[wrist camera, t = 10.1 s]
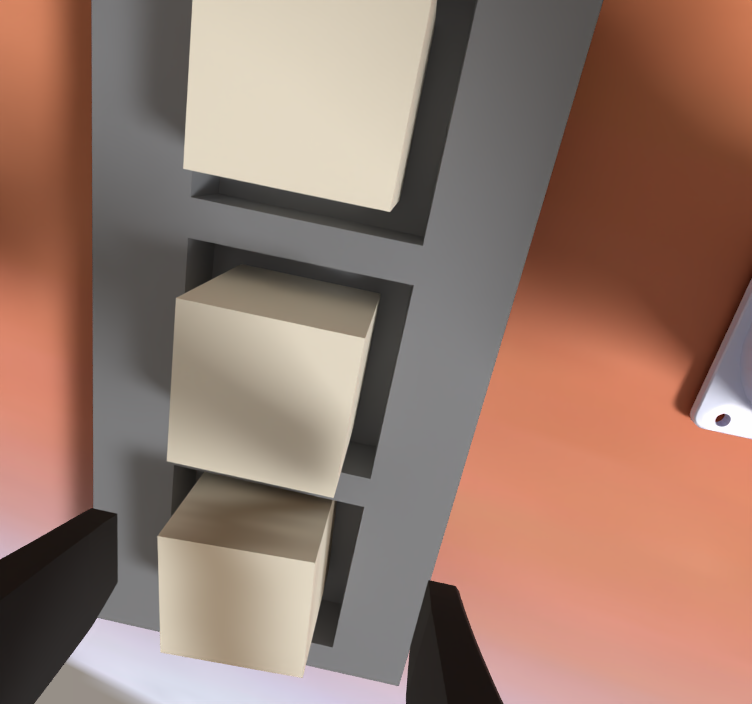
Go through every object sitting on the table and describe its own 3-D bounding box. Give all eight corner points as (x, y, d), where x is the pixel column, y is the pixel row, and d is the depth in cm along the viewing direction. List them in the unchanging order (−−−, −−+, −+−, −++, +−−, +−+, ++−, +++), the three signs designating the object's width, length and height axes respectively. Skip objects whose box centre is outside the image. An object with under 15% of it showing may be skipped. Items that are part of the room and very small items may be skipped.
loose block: (340, 472, 20) (315, 562, 16) (328, 569, 22) (302, 677, 17) (218, 452, 21) (157, 536, 16) (216, 550, 22) (160, 652, 18)
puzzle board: (588, -32, 15) (683, -148, 9) (401, 624, 24) (394, 760, 18) (153, -118, 15) (-1, -280, 10) (132, 564, 24) (46, 680, 19)
